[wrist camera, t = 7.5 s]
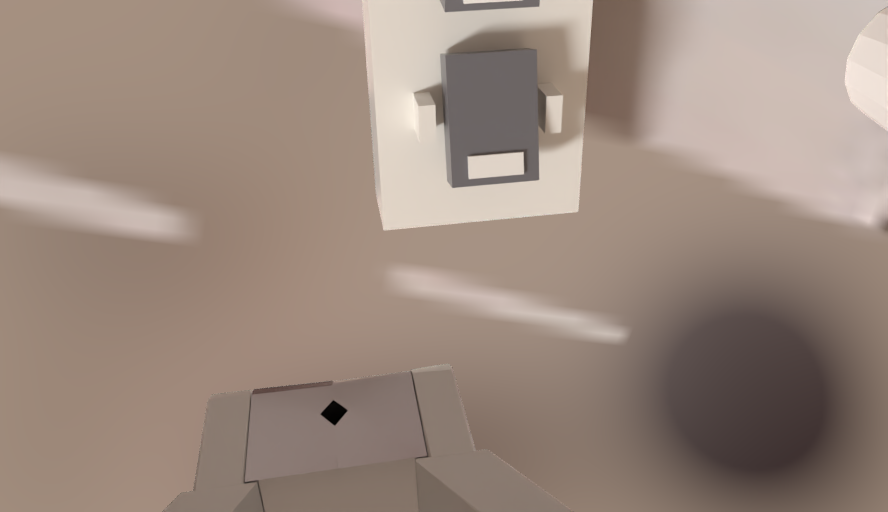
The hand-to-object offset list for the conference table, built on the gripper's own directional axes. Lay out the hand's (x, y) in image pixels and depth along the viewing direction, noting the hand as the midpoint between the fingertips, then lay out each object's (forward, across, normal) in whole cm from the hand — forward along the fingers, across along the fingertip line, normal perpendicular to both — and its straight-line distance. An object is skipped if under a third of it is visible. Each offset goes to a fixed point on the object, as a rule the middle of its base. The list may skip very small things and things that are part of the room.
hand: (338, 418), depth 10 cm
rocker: (+18, -6, +3) cm, 20 cm away
